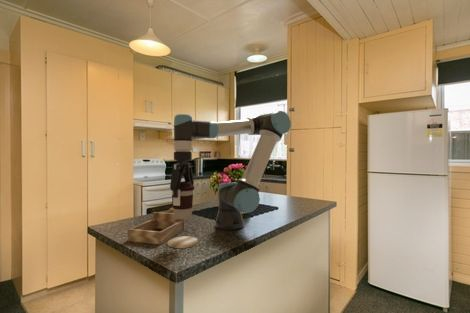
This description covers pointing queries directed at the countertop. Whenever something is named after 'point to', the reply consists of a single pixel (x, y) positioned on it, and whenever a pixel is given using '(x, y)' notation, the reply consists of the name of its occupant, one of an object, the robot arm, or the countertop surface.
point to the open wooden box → (159, 221)
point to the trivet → (182, 242)
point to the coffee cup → (184, 201)
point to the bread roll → (170, 210)
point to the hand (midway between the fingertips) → (182, 202)
